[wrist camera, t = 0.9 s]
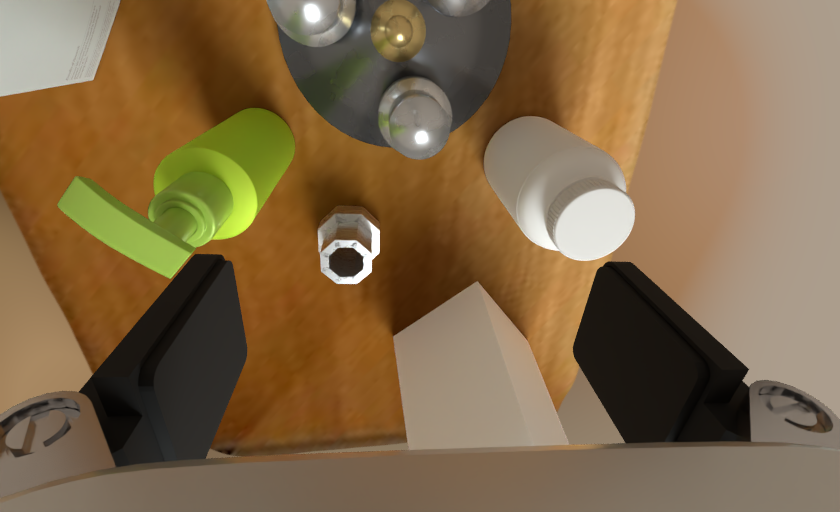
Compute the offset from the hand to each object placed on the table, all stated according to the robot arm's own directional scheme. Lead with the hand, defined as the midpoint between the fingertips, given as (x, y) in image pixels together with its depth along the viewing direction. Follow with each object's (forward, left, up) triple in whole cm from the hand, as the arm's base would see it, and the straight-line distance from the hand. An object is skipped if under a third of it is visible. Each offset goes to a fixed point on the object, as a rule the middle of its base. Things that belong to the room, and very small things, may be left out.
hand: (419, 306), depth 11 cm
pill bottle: (+4, +13, -29) cm, 32 cm away
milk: (+26, +9, -29) cm, 40 cm away
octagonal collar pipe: (+12, -4, -29) cm, 31 cm away
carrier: (-6, 0, -29) cm, 29 cm away
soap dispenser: (+3, -12, -29) cm, 31 cm away
